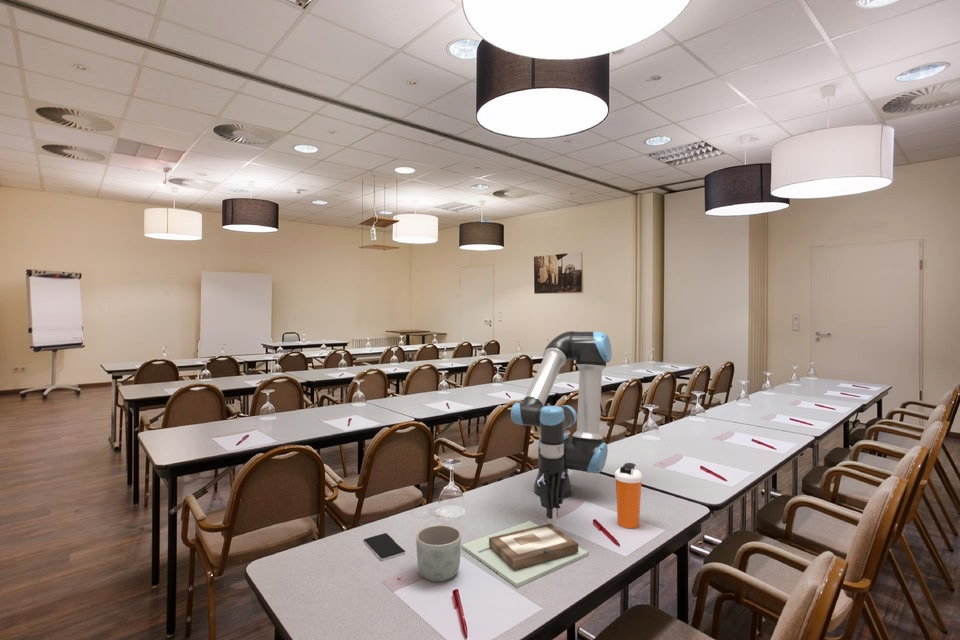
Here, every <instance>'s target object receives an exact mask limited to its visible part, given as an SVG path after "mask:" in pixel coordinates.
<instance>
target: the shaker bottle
mask: <svg viewBox="0 0 960 640" xmlns="http://www.w3.org/2000/svg"><path fill="white" fill-rule="evenodd" d="M635 467H636V464H635V463H633V462H625V463H624V464H623V465H622V466H620V467H619V468H618V469H616V471H615V472H614V479H615V491H616V494H615V495H616V496H615V497H616V519H617V525H618V526H620V527H621V528H624V529H630V528H632V529H637V528H639V526H640V515H641V496H642V482H643V474H642V473H641V471H640V470H639V469H637V468H635Z"/></svg>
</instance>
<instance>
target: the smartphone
mask: <svg viewBox="0 0 960 640" xmlns="http://www.w3.org/2000/svg"><path fill="white" fill-rule="evenodd" d="M363 542H364V544H365V545H366V546H367V547H368V548H369V549H370V550H371V552H372V553H373V554H374V555H375V557H376V558H377V559H378V560H380V561H381V562H384V561H385V562H386V561H388V560H391V559H394V558H397V557H400V556H404V555H406V550H405V548H403V546H401V545H400V544H399V543H398V542H396V540H394V539H393V537H391V536H390V534H388V533H387V532H384V533H381V534H380V533H379V534H377V535H373V536H370V537H367V538H363Z"/></svg>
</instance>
